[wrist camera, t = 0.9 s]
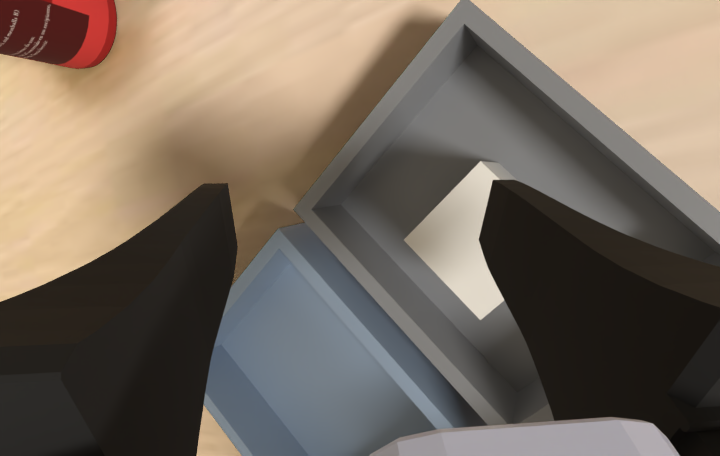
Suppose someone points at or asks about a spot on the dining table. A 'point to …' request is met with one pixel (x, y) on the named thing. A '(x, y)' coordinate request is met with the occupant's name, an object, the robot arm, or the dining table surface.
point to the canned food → (58, 30)
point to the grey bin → (454, 162)
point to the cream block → (462, 239)
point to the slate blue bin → (319, 361)
